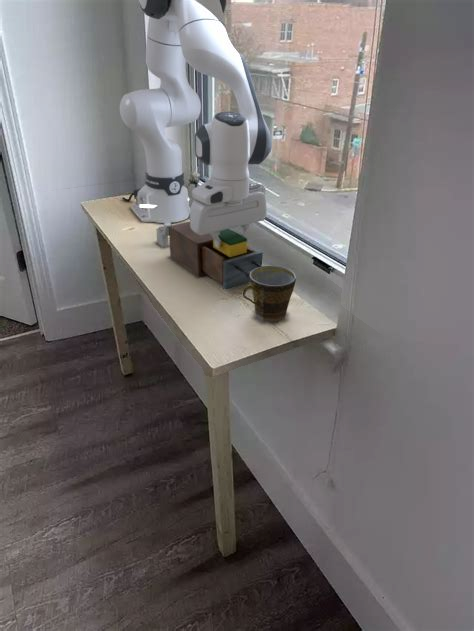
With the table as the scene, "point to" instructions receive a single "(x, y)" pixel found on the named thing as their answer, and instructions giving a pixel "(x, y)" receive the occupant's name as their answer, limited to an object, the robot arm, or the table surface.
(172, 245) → the cabinet
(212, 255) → the drawer
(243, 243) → the sponge
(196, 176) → the plant with pod
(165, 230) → the lighter
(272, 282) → the ceramic cup
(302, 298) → the table surface
